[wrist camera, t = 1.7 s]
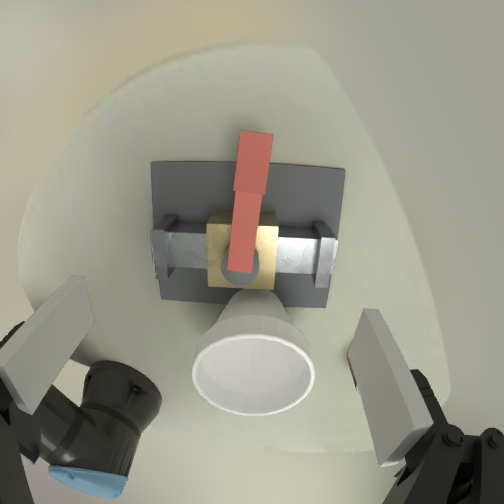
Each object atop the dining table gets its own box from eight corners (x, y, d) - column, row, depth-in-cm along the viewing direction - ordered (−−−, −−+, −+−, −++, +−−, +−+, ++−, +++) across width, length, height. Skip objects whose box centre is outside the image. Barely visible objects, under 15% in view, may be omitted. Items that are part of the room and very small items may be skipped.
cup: (211, 260, 37) (189, 326, 25) (309, 270, 38) (330, 339, 25) (208, 336, 42) (191, 410, 30) (292, 345, 42) (300, 419, 30)
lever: (256, 277, 31) (255, 293, 28) (222, 272, 31) (217, 288, 28) (277, 135, 25) (279, 135, 22) (237, 129, 25) (234, 129, 22)
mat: (162, 296, 40) (161, 299, 39) (152, 162, 32) (150, 162, 32) (324, 305, 39) (325, 307, 39) (344, 169, 32) (345, 169, 32)
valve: (164, 262, 37) (150, 284, 32) (160, 208, 34) (143, 223, 29) (324, 270, 36) (333, 293, 31) (331, 216, 34) (344, 232, 29)
